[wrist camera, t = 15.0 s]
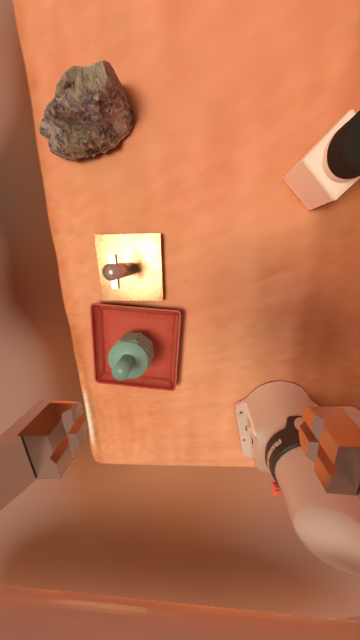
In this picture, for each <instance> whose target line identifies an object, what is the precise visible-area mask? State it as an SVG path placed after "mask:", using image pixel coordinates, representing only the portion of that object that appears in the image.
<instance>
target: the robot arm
mask: <svg viewBox="0 0 360 640" xmlns="http://www.w3.org/2000/svg"><path fill="white" fill-rule="evenodd" d="M241 411H242V412H241ZM82 412H83V407H82V403H80V402H72V401H45V400H42V401H39V402H37V403H36V404H35V405H34V406H32V407H31V409H29V410H28V411H27V412H26V413H25V414H24V415H23V416H22V417H21V418H19V419H18V420H17V421H16V422H15V423H14V424H13V425H12V426H11V427H10V428H9V429H8V430H6V431H5V432H4V433H3V434H2V435H0V510H2V509H3V508H4V507H5V506H6V505H7V504H9V503H10V502H11V501H12V500H13V499H14V498H15V497H17V496H18V495H19V494H20V493H21V492H23V491H24V490H25V489H26V488H27V487H29V486H30V485H31V484H32V483H33V482H34V481H36V479H61V478H62V476H63V474H64V473H65V471H66V470H67V468H68V466H69V465H70V463H71V461H72V460H73V457H72V453H73V452H74V451H76V450H77V449H79V448H80V446H81V445H82V443H83V441H84V439H85V435H86V432H87V424H86V420H85V419H84V418H83V417H82V416H81V414H82ZM235 413H236V420H237V426H238V433H239V439H240V445H241V450H242V453H243V455H245V456H247V457H249V458H251V459H254V462H255V465H256V467H257V468H258V469H259V470H260V471H262V472H264V473H267V474H271V475H272V476H273V478H274V479H275V481H276V482H272V483H271V486H272V492H273V494H274V496H283V499H284V501H285V504H286V507H287V510H288V512H289V515H290V518H291V521H292V524H293V526H294V528H295V531H296V533H297V535H298V536H299V538H300V539H301V541H302V542H303V543H304V545H305V546H306V547H307V548H308V549H309V550H310V551H311V552H312V553H313V554H314V555H315V556H317V557H318V558H319V559H321V560H322V561H324V562H325V563H326V564H328V565H330V566H332V567H334V568H336V569H338V570H341V571H343V572H345V573H348V574H350V575H352V576H355V577H357V578H359V579H360V411H359V410H358V409H356V408H354V407H352V406H336V407H320V406H319V405H317V404H316V403H314V402H313V401H312V400H311V399H310V398H309V396H308V394H307V393H306V392H305V390H304V389H302V388H301V387H300V386H298V385H296V384H293V383H290V382H285V381H276V382H270V383H266V384H264V385H262V386H260V387H258V388H256V389H255V390H254V391H253V392H252V393H251V394H250V395H249V396H248V397H247V398H245V399H243V400H241V401H239V402H237V403H236V404H235ZM0 640H360V616H355V617H345V618H336V619H329V618H319V617H310V616H300V615H290V614H280V613H270V612H259V611H250V610H241V609H231V608H221V607H211V606H202V605H191V604H181V603H172V602H161V601H152V600H143V599H132V598H123V597H113V596H103V595H93V594H82V593H73V592H64V591H63V592H62V591H54V590H43V589H34V588H23V587H14V586H4V585H0Z"/></svg>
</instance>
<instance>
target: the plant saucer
mask: <svg viewBox="0 0 360 640" xmlns="http://www.w3.org/2000/svg"><path fill="white" fill-rule="evenodd" d="M90 319H91V333H92V349H93V364H94V379H95V381H96V382H97V383H102V384H110V385H120V386H129V387H138V388H147V389H156V390H166V391H174V390H175V389H176V379H177V365H178V352H179V338H180V325H181V313H180V311H178V310H167V309H154V308H143V307H131V306H120V305H108V304H97V303H92V304H91V305H90ZM133 332H140V333H142V334H143V335H145V336H146V337H147V338H148V339H149V340H151V341H152V342H153V350H154V357H153V360H152V362H151V364H150V366H149V367H148V368H147V370H146V371H145V373H144V374H143V375H141V376H140V377H138V378H134V379H126V380H123V381H119V380H117V379H115V378H114V377H113V376H112V369H111V367H110V365H109V362H108V354H109V351H110V350H111V348H112V347H113V346H114V345H115V344H116V343H117V342H118V340H119V339H120V338H121V337H122V336H123V335H124V334H125V333H133Z"/></svg>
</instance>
